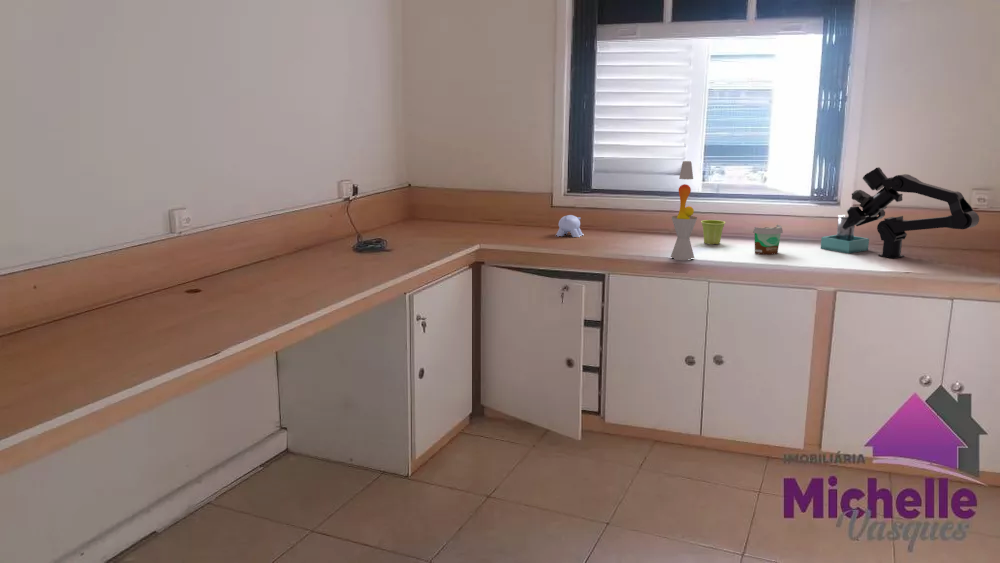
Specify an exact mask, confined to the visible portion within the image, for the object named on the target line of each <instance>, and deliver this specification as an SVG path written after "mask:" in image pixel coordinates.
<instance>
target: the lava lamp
mask: <svg viewBox="0 0 1000 563" xmlns="http://www.w3.org/2000/svg"><path fill="white" fill-rule="evenodd" d="M693 172H694V171H693V166H692V161H690V160H683V161H682V164H681V168H680V173H679V180H693V179H694V176H693ZM691 192H692V188H691V186H690V185H688V184H686V183H685V184H681V185H680V186H679V187H678V195H679V201H680V204H679V205H680V206H679V211H678V215H673V216H671V220H672V224H673V226H674V227H673V228H674V230H675V234H676V237H677V238H676V241H675V244H674V247H673V249H672V250H671V251H672V252H671V255H670V257H672V258H674V259H675V261H689V260H688V259H691V258H695V255H694V252H693V246H692V242H691V238H690V237H691V235H692V232H693V230H694V228H695V225H696V222H697V220H698V217H697V216H694V212H695V210H694V208H693V207H692V206H689V205H688V206H686V205H687V200H688V198H689V196H690V194H691ZM674 259H673V260H674Z"/></svg>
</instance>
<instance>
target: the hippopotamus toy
mask: <svg viewBox="0 0 1000 563" xmlns="http://www.w3.org/2000/svg"><path fill="white" fill-rule="evenodd" d="M557 225H558V227H559V228H558V230H557V232H556V234H555V236H556V235H557V236H556V237H559V236H561V237H564V236H565V235H564V234H566V235H568V234H569V233H570V234H571V237H572V238H574V237H579V238H581V237H583V236H584V233H583V232H582V229H581V228H580V227H581V216H580V217H579V216H578V217H577V216H576V215H573V214H568V215H564V216H562V217H561V218H560V219H559V221H558V224H557ZM582 235H583V236H582ZM580 236H581V237H580Z"/></svg>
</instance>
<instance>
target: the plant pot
mask: <svg viewBox="0 0 1000 563" xmlns="http://www.w3.org/2000/svg"><path fill="white" fill-rule="evenodd" d="M700 223H701V225H702V226H701V227H702V233H703V234H702V235H703V243H704V244H706V245H714V244H715V245H719V244H721V238H722V234H723V229H724V227H725V224H726V221H724V220H718V219H705V220H701V221H700Z"/></svg>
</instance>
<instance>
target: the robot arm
mask: <svg viewBox="0 0 1000 563" xmlns="http://www.w3.org/2000/svg"><path fill="white" fill-rule="evenodd" d="M862 180H863V181H864V182H865V183H866V185H867V186H868V187H869V188H870V190H871V191H876V193H875V194H874V195H871V194H869V193H867V192H865V191H864V190H862V189H857V190H854V191H853V192H852V193H851V199H852V200H854V201H855V202H857V203H859V206H856V205H854V206H850V207H849V208H847V209H846V214H848V218H847V220H846V222H845V223H844V225H843V228H844V229H846V228H849V227H851V226H854V225H855V227H860V226H862V225H866V224H869V223H872V222H875V221H878V220H880V221H879V223H878V224H877V226H876V230H877V232H878V234H879V237H880V240H881V241H883V245H882V252H881V253H879V254H878V255H877V256H879V257H882V258H883V257H884V258H890V259H899V258H900V259H901V258H904V257H905V255H903V254H902V245H903V240H905V239H906V238H907V235H908V234H907V232H909V231H920V230H931V229H942V228H947V229H953V230H966V229H971V228H974V227H976V226H978V224H979V222H980V217H979V214H978V213H977V212H975V211H974V209H973V207H972V206H971V204H970V203H969V202H968V201H967V200H966V199H965V197H964V195H963V194H962V193H961V192H960V191H956V190H955V191H954V190H951V189H948V188H944V187H941V186H936V185H932V184H930V183H926V182H923V181H921V180H919V179H918V178H917V177H915V176H913V175H911V174H906V173H905V174H903V173H902V174H898V175H894V176H893V177H892V176H891V177H887V176H886V173H884V172H883V170H882V169H881V167H875V168H874V169H873V170H871V171H869V172H867V173H865V175H863V177H862ZM899 192H900V193H899ZM903 193H912V194H918V195H922V196H924V197H928V198H932V199H935V200H939V201H940V202H941V201H942V202H946V203H947V204H948V207H949V211H950V215H948V216H938V217H937V216H936V217H928V218H919V219H918V218H917V219H909V220H908V219H904V216H903V215H900V216H889V217H885V216H886V211H885V210H886V209H887V208H888V205H890V204H891V203H892V202H893V201H895V202H896V203H899V202H902V201H903ZM860 207H861V208H860ZM884 217H885V218H884ZM881 219H883V220H881Z"/></svg>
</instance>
